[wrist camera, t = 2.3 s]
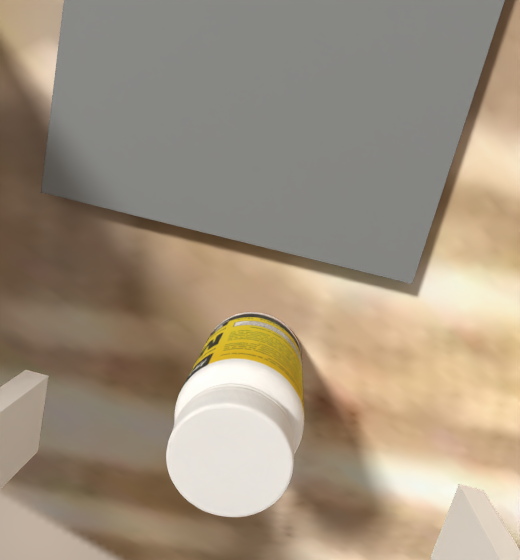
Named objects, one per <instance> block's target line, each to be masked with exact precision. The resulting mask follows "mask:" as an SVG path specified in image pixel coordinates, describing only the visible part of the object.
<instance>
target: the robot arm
mask: <svg viewBox="0 0 520 560" xmlns="http://www.w3.org/2000/svg"><path fill="white" fill-rule="evenodd" d="M48 378H49V376H48V375H44V374H40V373H36V372H33V371H29V370H24V371H23V372H21V373H20V374H18V375H17V376H15V377H14V378H12V379H11V380H9V381H8V382H6V383H5V384H3V385H2V386H0V489H1V488H2V487H3V486H4V485H5V484H6V483H7V482H8V481H9V480H10V479H11V478H12V477H13V476H14V475H15V474H16V473H17V472H18V471H19V470H20V469H21V468H22V467H23V466H24V465H25V464H26V463H27V462H28V461H29V460H30V459H31V458H32V457H33V456H34V455H35V454H36V453H37V452H38V449H39V442H40V435H41V428H42V420H43V413H44V406H45V399H46V392H47V385H48ZM431 560H520V549H519V547H518V546H517V544H516V543H515V541H514V539H513V538H512V536H511V534H510V533H509V531H508V529H507V528H506V526H505V525H504V523H503V521H502V520H501V518H500V516H499V515H498V513H497V511H496V510H495V508H494V506H493V505H492V503H491V502H490V500H489V498H488V497H487V495H486V493H485V492H484V491H483V490H480V489H476V488H472V487H468V486H465V485H461V484H459V485H458V488H457V491H456V493H455V496H454V498H453V501H452V503H451V506H450V509H449V511H448V514H447V516H446V519H445V522H444V524H443V527H442V529H441V532H440V534H439V537H438V540H437V542H436V545H435V547H434V550H433V552H432V555H431Z"/></svg>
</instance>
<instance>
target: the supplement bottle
mask: <svg viewBox="0 0 520 560" xmlns="http://www.w3.org/2000/svg"><path fill="white" fill-rule="evenodd" d="M174 422H175V424H174V427H173V431H172V433H171V435H170V438H169V441H168V445H167V451H166V462H167V468H168V472H169V475H170V478H171V480H172V482H173V484H174V485H175V487H176V488H177V490H178V491H179V492H180V494H181V495H182V496H183V497H184V498H185V499H186V500H187V501H189V502H190V503H191V504H193V505H194V506H196V507H197V508H199V509H201V510H203V511H205V512H208V513H211V514H214V515H218V516H224V517H244V516H249V515H253V514H256V513H259V512H261V511H263V510H265V509H267V508H268V507H270V506H271V505H273V504H274V503H275V502H276V501H277V500H278V499H279V498H280V497H281V496H282V495H283V494H284V492H285V491H286V489H287V487H288V485H289V483H290V480H291V477H292V474H293V468H294V454H295V453H296V451H297V449H298V447H299V445H300V442H301V439H302V435H303V429H304V403H303V373H302V354H301V349H300V345H299V342H298V340H297V338H296V336H295V335H294V333H293V332H292V331H291V329H290V328H289V327H288V326H287V325H286V324H284V323H283V322H282V321H280V320H279V319H277V318H275V317H273V316H271V315H268V314H264V313H258V312H245V313H240V314H236V315H234V316H231V317H229V318H227V319H226V320H224V321H223V322H222V323H220V324H219V325H218V326H217V327H216V328H215V329H214V331H213V332H212V333H211V335H210V337H209V338H208V340H207V342H206V344H205V346H204V348H203V350H202V352H201V354H200V355H199V357H198V359H197V361H196V363H195V365H194V367H193V368H192V371H191V372H190V374H189V376H188V378H187V380H186V381H185V383H184V385H183V387H182V389H181V391H180V393H179V395H178V399H177V402H176V407H175V416H174Z"/></svg>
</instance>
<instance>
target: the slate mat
mask: <svg viewBox="0 0 520 560" xmlns="http://www.w3.org/2000/svg"><path fill="white" fill-rule="evenodd" d="M504 1H505V0H64V5H63V13H62V21H61V30H60V38H59V46H58V55H57V63H56V71H55V80H54V88H53V96H52V105H51V113H50V121H49V130H48V138H47V146H46V155H45V163H44V171H43V180H42V188H41V193H46V194H50V195H54V196H58V197H62V198H66V199H70V200H74V201H78V202H82V203H86V204H90V205H94V206H98V207H102V208H106V209H110V210H114V211H118V212H123V213H127V214H131V215H135V216H139V217H143V218H147V219H151V220H155V221H159V222H163V223H167V224H171V225H175V226H179V227H183V228H187V229H191V230H196V231H200V232H204V233H208V234H212V235H216V236H220V237H224V238H228V239H232V240H236V241H240V242H244V243H248V244H252V245H256V246H260V247H264V248H268V249H273V250H277V251H281V252H285V253H289V254H293V255H297V256H301V257H305V258H309V259H313V260H317V261H321V262H325V263H329V264H333V265H337V266H341V267H345V268H350V269H354V270H358V271H362V272H366V273H370V274H374V275H378V276H382V277H386V278H390V279H394V280H398V281H402V282H406V283H410V284H412V283H413V280H414V277H415V274H416V271H417V268H418V265H419V262H420V259H421V256H422V253H423V249H424V246H425V243H426V240H427V237H428V234H429V231H430V228H431V225H432V222H433V219H434V216H435V213H436V210H437V207H438V204H439V200H440V197H441V194H442V191H443V188H444V185H445V182H446V179H447V176H448V173H449V170H450V167H451V164H452V161H453V158H454V154H455V151H456V148H457V145H458V142H459V139H460V136H461V133H462V130H463V127H464V124H465V121H466V118H467V115H468V112H469V109H470V105H471V102H472V99H473V96H474V93H475V90H476V87H477V84H478V81H479V78H480V75H481V72H482V69H483V66H484V63H485V60H486V56H487V53H488V50H489V47H490V44H491V41H492V38H493V35H494V32H495V29H496V26H497V23H498V20H499V17H500V14H501V11H502V7H503V4H504Z"/></svg>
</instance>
